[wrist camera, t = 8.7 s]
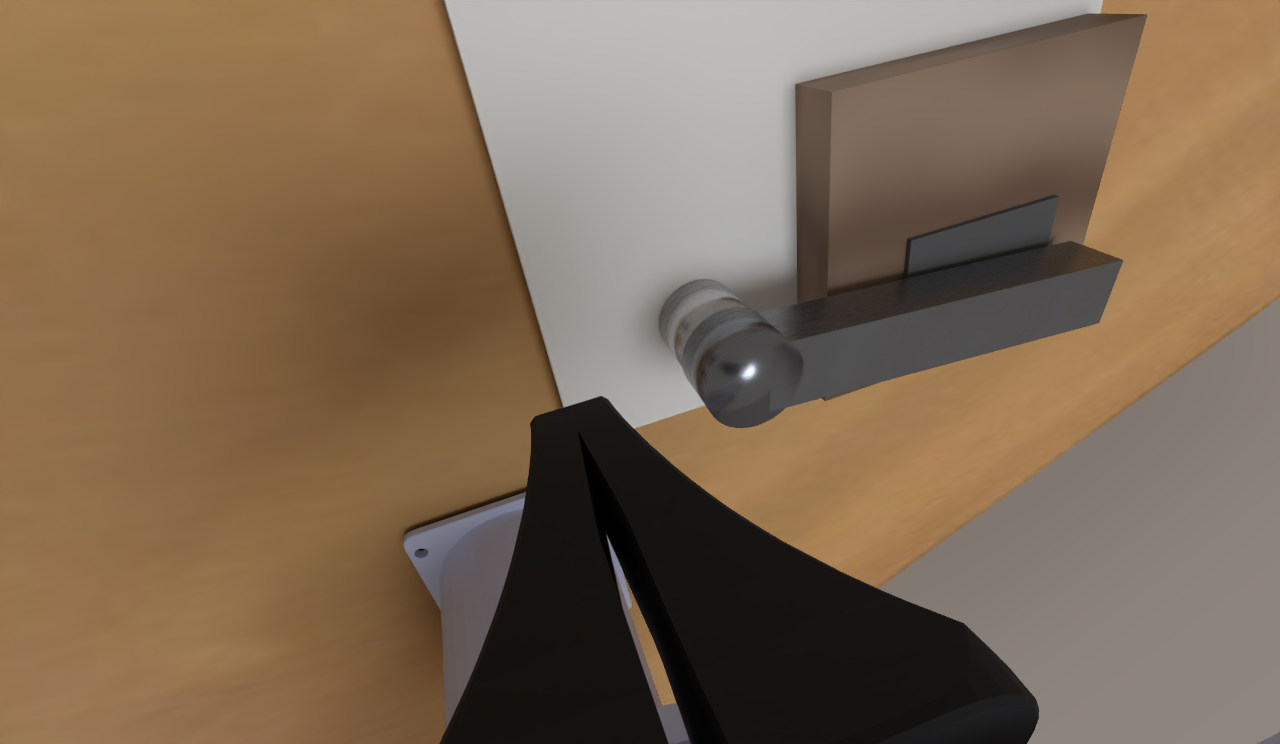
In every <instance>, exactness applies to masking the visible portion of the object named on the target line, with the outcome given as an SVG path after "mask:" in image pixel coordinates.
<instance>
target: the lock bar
mask: <svg viewBox="0 0 1280 744" xmlns="http://www.w3.org/2000/svg"><path fill="white" fill-rule="evenodd" d="M1122 262H1123V260H1122V259H1119V258H1116V257H1114V256H1111V255H1108V254H1105V253H1103V252H1100V251H1097V250H1095V249H1092V248H1089V247H1086V246H1084V245H1081V244H1078V243H1076V242H1073V241H1067V242H1063V243H1058V244H1054V245H1050V246H1045V247H1041V248H1037V249H1032V250H1028V251H1024V252H1019V253H1015V254H1011V255H1006V256H1002V257H998V258H993V259H989V260H985V261H980V262H976V263H972V264H967V265H963V266H959V267H954V268H950V269H946V270H941V271H937V272H933V273H928V274H924V275H920V276H915V277H911V278H907V279H902V280H898V281H894V282H889V283H885V284H881V285H876V286H872V287H868V288H863V289H859V290H855V291H850V292H846V293H842V294H837V295H833V296H829V297H824V298H820V299H816V300H811V301H807V302H803V303H798V304H794V305H790V306H785V307H781V308H777V309H772V310H768V311H764V312H759V313H758V312H757V311H754V310H752V309H749V308H743V307H733V308H728V309H724V310H721V311H719V312H716V313H714V314H713V315H711V316H709V317H708V318H706V319H705V320H704V321H702V322H701V323H700V324H699V325H698V326H697V327H696V328H695V330H694V331H693V332H692V334H691V335H690V337H689V338H688V340H687V342H686V345H685V347H684V351H683V356H682V366H683V371H684V374H685V376H686V378H687V380H688V381H689V383H690V384H691V385H692V387H693V388H694V390H695V391H696V392H697V394H698V395H699V397H700V398H701V400H702V401H703V402H704V404H705V405H706V407H707V408H708V409H709V411H710V412H711V414H712V415H713V416H714V417H715V418H716V419H717V420H718V421H719V422H721V423H722V424H724V425H726V426H730V427H735V428H747V427H752V426H756V425H759V424H762V423H764V422H766V421H768V420H770V419H772V418H773V417H775V416H776V415H778V414H779V413H780V412H781V411H783V410H784V409H785V408H786V407H790V406H793V405H797V404H801V403H805V402H808V401H812V400H816V399H819V398H823V397H827V396H830V395H834V394H838V393H842V392H845V391H849V390H853V389H856V388H860V387H864V386H868V385H871V384H875V383H879V382H882V381H886V380H890V379H893V378H897V377H901V376H905V375H908V374H912V373H916V372H919V371H923V370H927V369H930V368H934V367H938V366H942V365H945V364H949V363H953V362H956V361H960V360H964V359H968V358H971V357H975V356H979V355H982V354H986V353H990V352H993V351H997V350H1001V349H1005V348H1008V347H1012V346H1016V345H1019V344H1023V343H1027V342H1030V341H1034V340H1038V339H1042V338H1045V337H1049V336H1053V335H1056V334H1060V333H1064V332H1067V331H1071V330H1075V329H1079V328H1082V327H1086V326H1090V325H1093V324H1097V323H1099V322H1100V319H1101V317H1102V314H1103V312H1104V309H1105V306H1106V304H1107V301H1108V299H1109V296H1110V293H1111V291H1112V288H1113V286H1114V283H1115V281H1116V278H1117V275H1118V273H1119V270H1120V268H1121V265H1122Z"/></svg>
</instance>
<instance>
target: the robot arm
mask: <svg viewBox="0 0 1280 744" xmlns="http://www.w3.org/2000/svg"><path fill="white" fill-rule="evenodd" d="M530 426H531V457H530V467H529V476H528V482H527V489H526V492H524V493H521V494H518V495H515V496H512V497H509V498H506V499H504V500H501V501H498V502H495V503H492V504H489V505H486V506H483V507H480V508H477V509H474V510H471V511H468V512H465V513H462V514H459V515H456V516H453V517H450V518H447V519H444V520H441V521H438V522H436V523H433V524H430V525H427V526H424V527H421V528H418V529H415V530H412V531H410V532H408V533H407V534H406V535H405V536H404V539H403V547H404V549H405V551H406V553H407V555H408V556H409V558H410V560H411V561H412V563H413V565H414V567H415V568H416V570H417V572H418V573H419V575H420V577H421V578H422V580H423V582H424V584H425V585H426V587H427V589H428V590H429V592H430V594H431V596H432V597H433V599H434V601H435V602H436V604H437V606H438V607H439V609H440V611H441V621H442V648H443V674H444V701H445V727H446V731H445V733H444V735H443V737H442V740H441V742H440V744H1027V742H1028V741H1029V739H1030V737H1031V735H1032V734H1033V732H1034V730H1035V727H1036V724H1037V721H1038V718H1039V707H1038V704H1037V701H1036V699H1035V697H1034V696H1033V695H1032V694H1031V693H1030V692H1029V690H1028V689H1027V688H1026V687H1025V686H1024V685H1023V683H1022V682H1021V681H1020V680H1019V679H1018V677H1017V676H1016V675H1015V674H1014V673H1013V672H1012V670H1011V669H1010V668H1009V667H1008V666H1007V665H1006V664H1005V663H1004V662H1003V661H1002V660H1001V659H1000V658H999V657H998V656H997V655H996V654H995V653H994V652H993V651H992V650H991V649H990V648H989V647H988V646H987V645H986V644H985V643H984V642H983V641H982V640H981V639H980V638H979V637H977V636H976V635H975V634H974V633H973V632H972V631H971V630H970V629H969V628H968V627H967V626H966V625H965V624H964V623H961V622H959V621H956V620H953V619H951V618H949V617H946V616H944V615H941V614H938V613H936V612H933V611H931V610H928V609H925V608H923V607H920V606H918V605H915V604H913V603H910V602H907V601H905V600H903V599H901V598H898V597H895V596H893V595H891V594H889V593H886V592H884V591H882V590H879V589H877V588H875V587H873V586H871V585H869V584H866V583H864V582H862V581H860V580H858V579H855V578H853V577H851V576H849V575H847V574H845V573H842V572H840V571H838V570H837V569H835V568H833V567H831V566H829V565H827V564H825V563H823V562H821V561H819V560H817V559H816V558H814V557H812V556H810V555H808V554H806V553H804V552H802V551H800V550H798V549H796V548H794V547H793V546H791V545H789V544H787V543H785V542H783V541H781V540H780V539H778V538H776V537H775V536H773V535H771V534H770V533H768V532H766V531H765V530H763V529H761V528H760V527H758V526H756V525H755V524H753V523H752V522H750V521H749V520H747V519H745V518H744V517H742V516H741V515H739V514H738V513H736V512H735V511H733V510H732V509H730V508H729V507H727V506H726V505H724V504H723V503H722V502H720V501H719V500H717V499H716V498H715V497H713V496H712V495H710V494H709V493H708V492H706V491H705V490H704V489H703V488H701V487H700V486H699V485H697V484H696V483H695V482H693V481H692V480H691V479H690V478H688V477H687V476H686V475H685V474H683V473H682V472H681V471H680V470H678V469H677V468H676V467H675V466H674V465H672V464H671V463H670V462H669V461H668V460H667V459H666V458H665V457H663V456H662V455H661V454H660V453H659V452H658V451H657V450H655V449H654V448H653V447H652V446H651V445H650V444H649V443H648V442H647V441H646V440H645V439H644V438H643V437H642V436H641V435H640V434H639V433H638V432H637V431H636V430H635V429H634V428H633V427H632V426H631V425H630V424H629V423H628V422H627V421H626V420H625V419H624V418H623V417H622V416H621V414H620V413H619V412H618V411H617V410H616V409H615V407H614V406H613V405H612V404H611V402H610V401H609V399H607V398H605V397H603V396H599V397H596V398H593V399H590V400H586V401H583V402H580V403H577V404H573V405H570V406H567V407H564V408H560V409H557V410H554V411H551V412H547V413H544V414H541V415H538V416H535V417H534V418H533V420H532V421H531V423H530ZM422 548H423V549H425V550H422V551H419V550H418V549H422ZM623 573H624V574H623ZM624 575H625V577H626V579H627V581H628V584H629V586H630V588H631V590H632V593H633V595H634V597H635V599H636V602H637V604H638V606H639V608H640V610H641V613H642V615H643V617H644V619H645V622H646V624H647V626H648V628H649V631H650V633H651V635H652V637H653V640H654V642H655V645H656V647H657V650H658V652H659V655H660V657H661V660H662V662H663V665H664V668H665V670H666V673H667V676H668V679H669V682H670V685H671V688H672V691H673V694H674V697H675V700H676V702H677V704H676V703H673V704H669V705H664V706H662V704H661V701H660V698H659V695H658V693H657V690H656V687H655V684H654V681H653V678H652V675H651V672H650V669H649V667H648V664H647V661H646V658H645V655H644V652H643V649H642V646H641V643H640V640H639V638H638V635H637V632H636V629H635V626H634V623H633V620H632V617H631V614H630V612H629V610H630V608H631V607H632V603H631V599H630V596H629V592H628V588H627V585H626V581H625V578H624ZM1257 744H1280V732H1279V733H1277V734H1275V735H1273V736H1272V737H1270V738H1268V739H1265V740H1263V741H1261V742H1260V743H1257Z"/></svg>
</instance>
